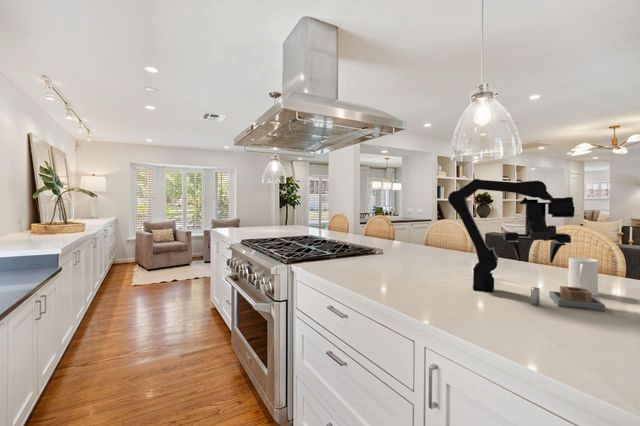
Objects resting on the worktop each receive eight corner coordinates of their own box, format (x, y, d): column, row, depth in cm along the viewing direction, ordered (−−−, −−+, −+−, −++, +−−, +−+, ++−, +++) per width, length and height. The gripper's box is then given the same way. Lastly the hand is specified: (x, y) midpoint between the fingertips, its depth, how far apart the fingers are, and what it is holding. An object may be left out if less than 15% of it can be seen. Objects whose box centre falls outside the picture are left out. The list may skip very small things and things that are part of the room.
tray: (558, 306, 96) (558, 300, 96) (549, 296, 106) (549, 290, 106) (604, 311, 91) (604, 304, 91) (590, 300, 101) (590, 294, 101)
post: (531, 305, 97) (531, 288, 96) (530, 303, 99) (530, 286, 98) (540, 306, 96) (540, 289, 96) (538, 304, 98) (538, 287, 98)
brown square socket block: (559, 297, 103) (559, 285, 103) (583, 300, 100) (583, 287, 100) (565, 303, 97) (565, 290, 97) (591, 306, 94) (591, 293, 94)
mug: (594, 299, 103) (595, 263, 102) (562, 293, 109) (563, 260, 109) (600, 292, 110) (601, 259, 110) (570, 287, 117) (570, 256, 116)
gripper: (507, 217, 103) (507, 263, 103) (577, 218, 95) (576, 268, 96) (503, 216, 113) (502, 258, 114) (565, 217, 105) (565, 262, 106)
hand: (534, 261), depth 107 cm, fingers open, 9 cm apart
